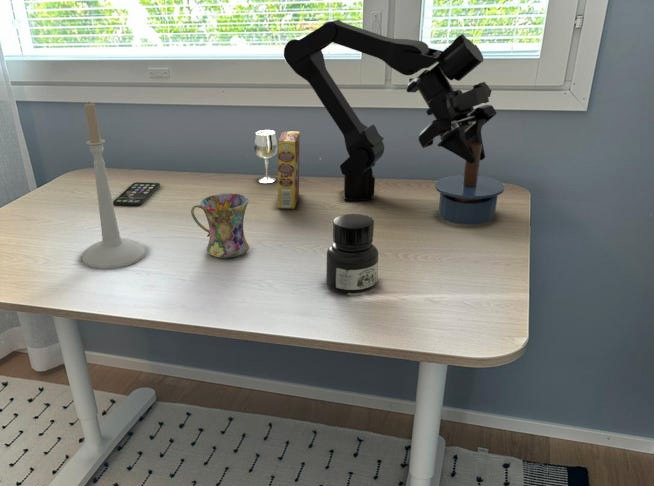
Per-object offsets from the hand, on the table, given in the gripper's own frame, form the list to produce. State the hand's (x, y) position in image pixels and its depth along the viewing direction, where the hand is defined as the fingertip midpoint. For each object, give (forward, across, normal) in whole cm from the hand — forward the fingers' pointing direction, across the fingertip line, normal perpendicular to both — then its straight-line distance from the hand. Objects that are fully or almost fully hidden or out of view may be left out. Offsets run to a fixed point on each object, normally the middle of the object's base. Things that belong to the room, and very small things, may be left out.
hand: (478, 160), depth 139 cm
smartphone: (-39, -42, +57) cm, 81 cm away
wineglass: (-28, -12, +46) cm, 55 cm away
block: (+8, 0, +9) cm, 12 cm away
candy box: (-16, -20, +34) cm, 43 cm away
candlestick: (-18, -65, +36) cm, 77 cm away
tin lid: (+3, 0, +5) cm, 6 cm away
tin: (+8, 0, +10) cm, 12 cm away
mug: (-8, -48, +26) cm, 55 cm away
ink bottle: (+12, -41, +6) cm, 43 cm away
